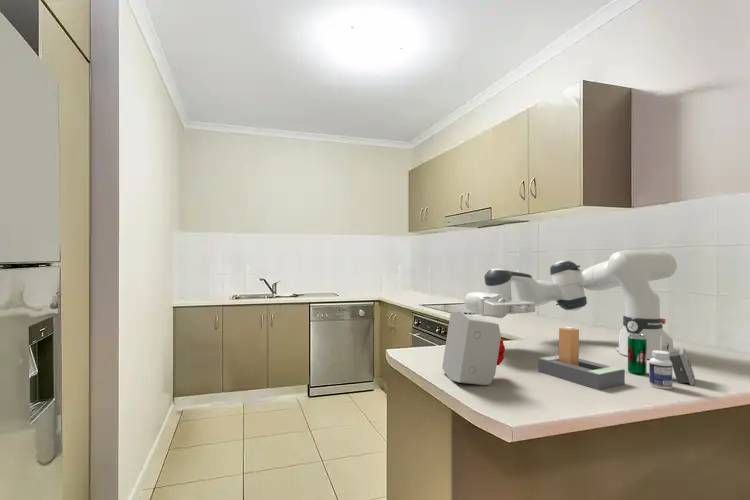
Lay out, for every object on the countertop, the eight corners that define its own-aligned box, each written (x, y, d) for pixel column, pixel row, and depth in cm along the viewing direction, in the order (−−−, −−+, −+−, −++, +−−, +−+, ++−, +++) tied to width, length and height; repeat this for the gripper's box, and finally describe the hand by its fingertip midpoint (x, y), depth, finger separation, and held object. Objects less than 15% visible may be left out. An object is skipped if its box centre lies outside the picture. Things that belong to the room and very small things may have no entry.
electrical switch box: (508, 393, 117) (519, 322, 118) (458, 387, 115) (469, 314, 115) (486, 377, 131) (495, 314, 132) (441, 372, 129) (451, 308, 130)
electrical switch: (694, 386, 118) (690, 353, 119) (672, 384, 121) (668, 352, 122) (695, 379, 125) (691, 347, 126) (674, 377, 129) (670, 347, 129)
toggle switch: (563, 366, 137) (563, 354, 137) (624, 383, 120) (624, 369, 120) (538, 371, 131) (538, 358, 131) (598, 389, 114) (598, 374, 114)
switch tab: (567, 367, 131) (567, 325, 132) (578, 371, 128) (579, 328, 128) (558, 369, 130) (559, 326, 130) (570, 372, 126) (570, 328, 126)
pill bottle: (650, 382, 121) (650, 348, 122) (673, 386, 118) (673, 351, 118) (648, 386, 117) (648, 351, 117) (671, 390, 114) (671, 355, 114)
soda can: (639, 376, 128) (640, 336, 128) (623, 371, 132) (624, 333, 132) (650, 374, 130) (650, 335, 130) (634, 370, 135) (634, 332, 135)
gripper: (517, 313, 160) (548, 317, 147) (476, 315, 150) (505, 321, 138) (517, 296, 160) (548, 299, 147) (476, 298, 150) (505, 302, 138)
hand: (527, 310), depth 143 cm, fingers closed
